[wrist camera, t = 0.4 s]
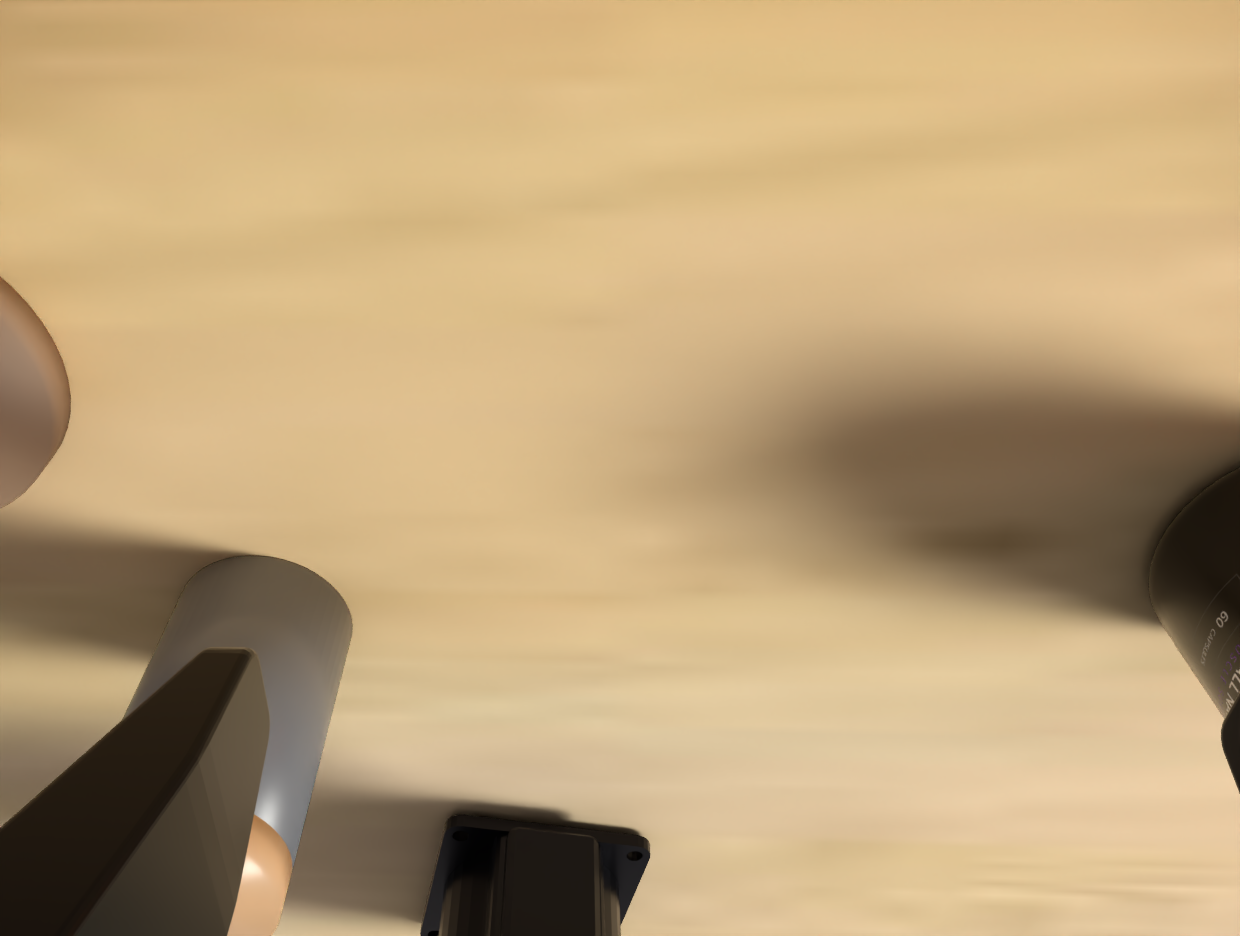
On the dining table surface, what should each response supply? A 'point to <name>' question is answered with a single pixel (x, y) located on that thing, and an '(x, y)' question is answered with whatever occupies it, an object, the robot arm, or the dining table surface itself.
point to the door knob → (28, 396)
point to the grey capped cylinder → (296, 695)
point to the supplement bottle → (1204, 587)
